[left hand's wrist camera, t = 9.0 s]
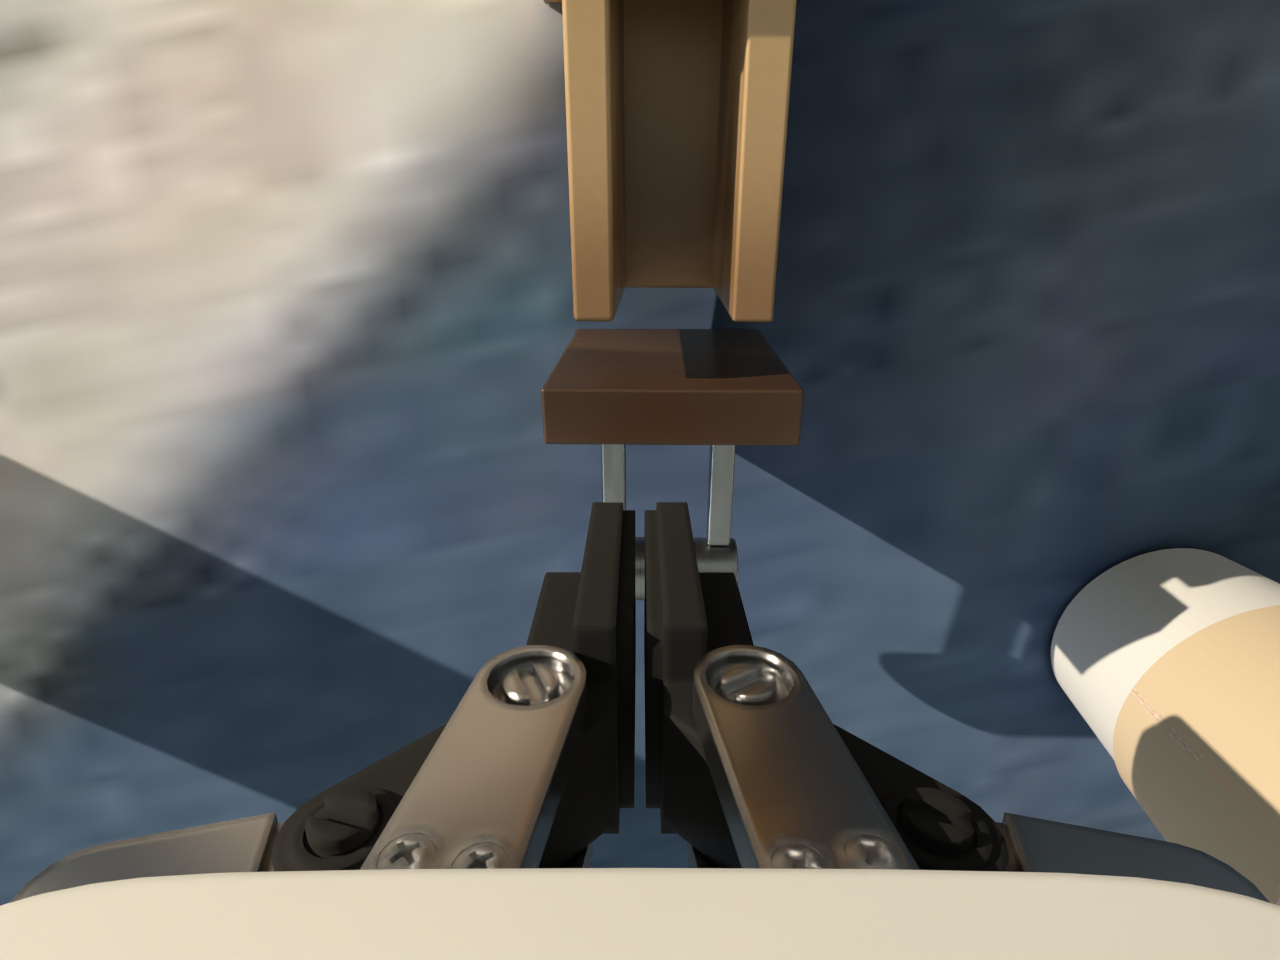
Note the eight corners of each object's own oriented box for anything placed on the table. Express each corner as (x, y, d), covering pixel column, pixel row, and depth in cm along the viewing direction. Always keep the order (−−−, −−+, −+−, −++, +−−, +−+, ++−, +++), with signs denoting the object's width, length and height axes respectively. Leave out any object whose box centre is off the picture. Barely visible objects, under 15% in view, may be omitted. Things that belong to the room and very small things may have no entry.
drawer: (744, 539, 22) (778, 671, 16) (584, 538, 22) (556, 668, 16) (813, -511, 13) (948, -1116, 7) (546, -504, 14) (454, -1096, 7)
